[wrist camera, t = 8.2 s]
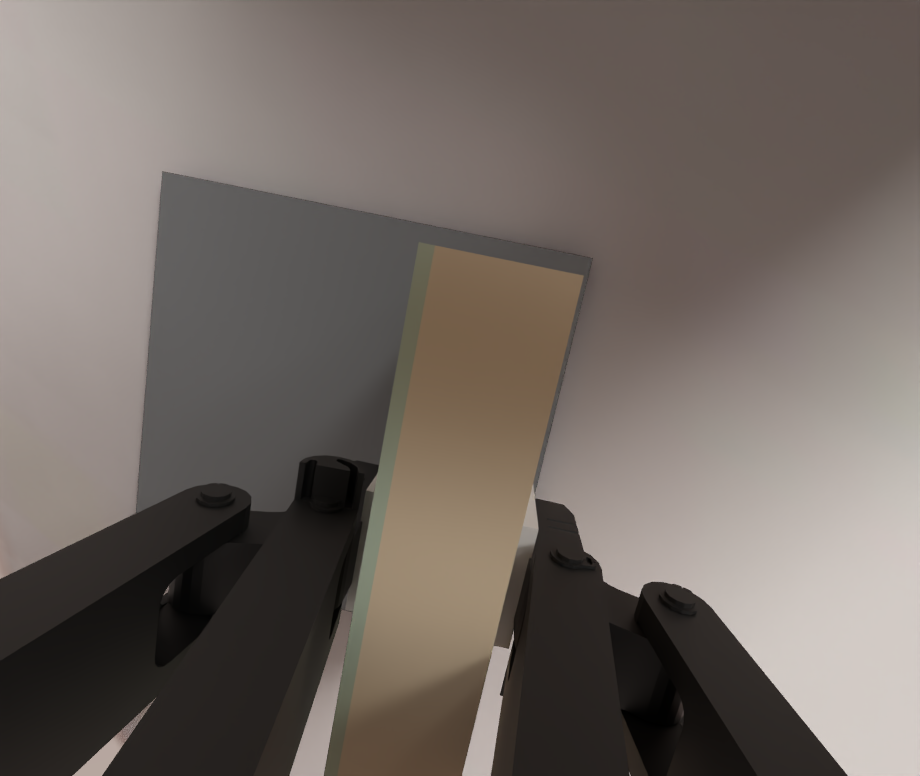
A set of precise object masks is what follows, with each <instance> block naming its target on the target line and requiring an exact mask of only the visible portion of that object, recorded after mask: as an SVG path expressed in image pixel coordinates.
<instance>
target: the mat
mask: <svg viewBox="0 0 920 776" xmlns="http://www.w3.org/2000/svg"><path fill="white" fill-rule="evenodd" d="M419 242H421V243H426V244H430V245H435V246H440V247H445V248H450V249H455V250H460V251H465V252H470V253H475V254H480V255H485V256H489V257H494V258H499V259H504V260H509V261H514V262H519V263H524V264H529V265H534V266H539V267H544V268H548V269H553V270H558V271H563V272H568V273H573V274H578V275H583V276H584V277H583V281H582V285H581V289H580V293H579V297H578V301H577V306H576V310H575V314H574V318H573V322H572V326H571V330H570V334H569V338H568V342H567V347H566V351H565V355H564V359H563V363H562V367H561V371H560V375H559V379H558V383H557V387H556V392H555V396H554V400H553V404H552V408H551V412H550V416H549V420H548V424H547V428H546V433H545V437H544V441H543V445H542V449H541V453H540V457H539V461H538V465H537V469H536V473H535V478H534V482H533V486H534V495H535V491H536V487H537V483H538V478H539V474H540V470H541V466H542V462H543V458H544V454H545V450H546V446H547V442H548V438H549V434H550V430H551V426H552V422H553V417H554V413H555V409H556V405H557V401H558V397H559V393H560V389H561V385H562V381H563V377H564V373H565V369H566V365H567V361H568V356H569V352H570V348H571V344H572V340H573V336H574V332H575V328H576V324H577V320H578V316H579V312H580V308H581V304H582V300H583V295H584V291H585V287H586V283H587V279H588V275H589V271H590V267H591V263H592V259H593V258H590V257H585V256H580V255H575V254H570V253H565V252H560V251H555V250H550V249H545V248H540V247H535V246H530V245H525V244H520V243H515V242H511V241H506V240H501V239H496V238H491V237H486V236H481V235H476V234H471V233H466V232H461V231H456V230H451V229H446V228H441V227H436V226H431V225H426V224H421V223H416V222H411V221H406V220H401V219H396V218H391V217H387V216H382V215H377V214H372V213H367V212H362V211H357V210H352V209H347V208H342V207H337V206H332V205H327V204H322V203H317V202H312V201H307V200H302V199H297V198H292V197H287V196H282V195H277V194H272V193H267V192H262V191H258V190H253V189H248V188H243V187H238V186H233V185H228V184H223V183H218V182H213V181H208V180H203V179H198V178H193V177H188V176H183V175H178V174H173V173H168V172H163V171H162V184H161V197H160V209H159V222H158V235H157V248H156V261H155V274H154V287H153V299H152V312H151V325H150V338H149V351H148V364H147V377H146V389H145V402H144V415H143V428H142V441H141V454H140V466H139V479H138V492H137V505H136V513H138V512H140V511H142V510H144V509H146V508H149V507H151V506H153V505H155V504H157V503H159V502H161V501H163V500H165V499H167V498H169V497H171V496H173V495H175V494H178V493H180V492H182V491H184V490H186V489H189V488H192V487H195V486H199V485H207V484H209V483H218V484H219V483H224V484H228V485H230V486H235V487H238V488H240V489H243V490H245V491H247V492H248V493H249V494H250V496H251V509H250V511H264V512H285V511H286V510H287V509H288V508H289V506H290V505H291V503H292V502H293V500H294V497H295V490H296V483H297V477H298V470H299V463H300V461H302V460H303V459H305V458H307V457H312V456H321V455H329V456H338V457H342V458H346V459H350V460H352V461H356V460H359V461H363V462H368V463H372V464H376V465H379V463H380V457H381V452H382V446H383V440H384V435H385V429H386V424H387V418H388V412H389V407H390V401H391V395H392V390H393V384H394V379H395V373H396V367H397V362H398V356H399V350H400V345H401V339H402V334H403V328H404V322H405V317H406V311H407V305H408V300H409V294H410V289H411V283H412V277H413V272H414V266H415V260H416V255H417V249H418V244H419ZM347 596H348V592H347V594H346V596H345V598H344V600H343V602H342V608H341V609H342V610H345V608H346V602H347ZM346 611H347V610H346ZM350 612H352V611H350ZM493 646H495V645H493Z"/></svg>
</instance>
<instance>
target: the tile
mask: <svg viewBox="0 0 920 776" xmlns="http://www.w3.org/2000/svg"><path fill="white" fill-rule="evenodd" d="M583 277H584V276H583V275H578V274H573V273H568V272H563V271H558V270H553V269H548V268H544V267H539V266H534V265H529V264H524V263H519V262H514V261H509V260H504V259H499V258H494V257H489V256H485V255H480V254H475V253H470V252H465V251H460V250H455V249H450V248H445V247H440V246H435V245H430V244H426V243H421V242H419V244H418V249H417V255H416V260H415V266H414V272H413V277H412V283H411V289H410V294H409V300H408V305H407V311H406V317H405V322H404V328H403V334H402V339H401V345H400V350H399V356H398V362H397V367H396V373H395V379H394V384H393V390H392V395H391V401H390V407H389V412H388V418H387V424H386V429H385V435H384V440H383V446H382V452H381V457H380V463H379V469H378V474H377V480H376V485H375V491H374V497H373V502H372V508H371V514H370V519H369V525H368V530H367V536H366V542H365V547H364V553H363V559H362V564H361V570H360V575H359V581H358V587H357V592H356V598H355V604H354V609H353V615H352V620H351V626H350V632H349V637H348V643H347V648H346V654H345V660H344V665H343V671H342V677H341V682H340V688H339V693H338V699H337V705H336V710H335V716H334V722H333V727H332V733H331V738H330V744H329V750H328V755H327V761H326V767H325V772H324V776H462V772H463V768H464V764H465V760H466V756H467V752H468V748H469V744H470V740H471V736H472V731H473V727H474V723H475V719H476V715H477V711H478V707H479V703H480V699H481V695H482V690H483V686H484V682H485V678H486V674H487V670H488V666H489V662H490V658H491V654H492V650H493V645H494V641H495V637H496V633H497V629H498V625H499V621H500V617H501V613H502V609H503V604H504V600H505V596H506V592H507V588H508V584H509V580H510V576H511V572H512V568H513V564H514V559H515V555H516V551H517V547H518V543H519V539H520V535H521V531H522V527H523V523H524V518H525V514H526V510H527V506H528V502H529V498H530V494H531V490H532V486H533V482H534V478H535V473H536V469H537V465H538V461H539V457H540V453H541V449H542V445H543V441H544V437H545V433H546V428H547V424H548V420H549V416H550V412H551V408H552V404H553V400H554V396H555V392H556V387H557V383H558V379H559V375H560V371H561V367H562V363H563V359H564V355H565V351H566V347H567V342H568V338H569V334H570V330H571V326H572V322H573V318H574V314H575V310H576V306H577V301H578V297H579V293H580V289H581V285H582V281H583Z"/></svg>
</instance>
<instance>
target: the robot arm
mask: <svg viewBox="0 0 920 776" xmlns="http://www.w3.org/2000/svg"><path fill="white" fill-rule="evenodd" d="M378 469H379V465H376V464H372V463H368V462H363V461H359V460H356V461H352V460H350V459H346V458H342V457H338V456H329V455H321V456H312V457H307V458H305V459H303V460H302V461H300V463H299V470H298V477H297V483H296V490H295V497H294V500H293V502H292V503H291V505H290V506H289V508H288V509H287V510H286V511H285V512H264V511H250V509H251V496H250V494H249V493H248V492H247V491H245V490H243V489H240V488H238V487H235V486H230V485H228V484H224V483H219V484H218V483H209V484H207V485H199V486H195V487H192V488H189V489H186V490H184V491H182V492H180V493H178V494H175V495H173V496H171V497H169V498H167V499H165V500H163V501H161V502H159V503H157V504H155V505H153V506H151V507H149V508H146V509H144V510H142V511H140V512H138V513H136V514H134V515H132V516H130V517H128V518H126V519H124V520H122V521H120V522H117V523H115V524H113V525H111V526H109V527H107V528H105V529H103V530H101V531H99V532H97V533H95V534H93V535H91V536H88V537H86V538H84V539H82V540H80V541H78V542H76V543H74V544H72V545H70V546H68V547H66V548H64V549H62V550H59V551H57V552H55V553H53V554H51V555H49V556H47V557H45V558H43V559H41V560H39V561H37V562H35V563H33V564H30V565H28V566H26V567H24V568H22V569H20V570H18V571H16V572H14V573H12V574H10V575H8V576H6V577H4V578H1V579H0V776H72V775H74V774H75V773H76V772H77V771H78V770H79V769H80V768H81V767H82V766H83V765H84V764H85V763H86V762H87V761H89V760H90V759H91V758H92V757H93V756H94V755H95V754H96V753H97V752H98V751H99V750H100V749H101V748H102V747H103V746H104V745H106V744H107V743H108V742H109V741H110V740H111V739H112V738H113V737H114V736H115V735H116V734H117V733H118V732H120V731H121V730H122V729H123V728H124V727H125V726H126V725H127V724H128V723H129V722H130V721H131V720H132V719H133V718H135V717H136V716H137V715H138V714H139V713H140V712H141V711H142V710H143V709H144V708H145V707H146V706H147V705H148V704H150V703H151V702H152V701H153V700H154V699H155V698H156V699H155V700H154V702H153V703H152V705H151V706H150V707H149V709H148V710H147V712H146V713H145V715H144V716H143V718H142V719H141V720H140V722H139V723H138V725H137V726H136V728H135V729H134V730H133V732H132V733H131V735H130V736H129V738H128V739H127V741H126V742H125V743H124V745H123V746H122V748H121V749H120V751H119V752H118V753H117V755H116V756H115V758H114V759H113V761H112V762H111V764H110V765H109V767H108V768H107V770H106V771H105V772H104V774H103V775H102V776H289V775H290V772H291V768H292V765H293V762H294V759H295V756H296V753H297V750H298V747H299V744H300V741H301V738H302V735H303V732H304V728H305V725H306V722H307V719H308V716H309V713H310V710H311V707H312V704H313V701H314V698H315V695H316V692H317V688H318V685H319V682H320V679H321V676H322V673H323V670H324V667H325V664H326V661H327V658H328V655H329V652H330V649H331V645H332V642H333V639H334V636H335V633H336V630H337V627H338V624H339V619H340V614H341V608H342V602H343V600H344V598H345V596H346V594H347V592H348V596H347V602H346V608H345V610H347V611H352V612H353V609H354V604H355V598H356V592H357V587H358V581H359V575H360V570H361V564H362V559H363V553H364V547H365V542H366V536H367V530H368V525H369V519H370V514H371V508H372V502H373V497H374V491H375V485H376V480H377V474H378ZM578 533H579V532H578V528H577V526H576V521H575V518H574V515H573V514H572V513H571V512H570V511H569V510H568V509H567V508H566V507H565V506H564V505H562V504H558V503H553V502H549V501H544V500H540V499H535V495H534V486H532V490H531V494H530V498H529V502H528V506H527V510H526V514H525V518H524V523H523V527H522V531H521V535H520V539H519V543H518V547H517V551H516V555H515V559H514V564H513V568H512V572H511V576H510V580H509V584H508V588H507V592H506V596H505V600H504V604H503V609H502V613H501V617H500V621H499V625H498V629H497V633H496V637H495V641H494V645H495V646H499V647H503V648H508V649H509V646H510V642H511V638H512V634H513V630H514V641H513V645H512V649H511V653H510V657H509V661H508V665H507V669H506V673H505V677H504V681H503V685H502V689H501V693H500V695H501V696H503V700H502V706H501V713H500V719H499V726H498V733H497V739H496V746H495V752H494V759H493V766H492V772H491V776H630V775H631V776H847V774H846V773H845V772H844V771H843V769H842V768H841V767H840V766H839V764H838V763H837V762H836V761H835V760H834V758H833V757H832V756H831V755H830V753H829V752H828V751H827V750H826V748H825V747H824V746H823V745H822V744H821V742H820V741H819V740H818V739H817V737H816V736H815V735H814V734H813V732H812V731H811V730H810V729H809V727H808V726H807V725H806V724H805V723H804V721H803V720H802V719H801V718H800V716H799V715H798V714H797V713H796V711H795V710H794V709H793V708H792V707H791V705H790V704H789V703H788V702H787V700H786V699H785V698H784V697H783V695H782V694H781V693H780V692H779V691H778V689H777V688H776V687H775V686H774V684H773V683H772V682H771V681H770V679H769V678H768V677H767V676H766V675H765V673H764V672H763V671H762V670H761V668H760V667H759V666H758V665H757V663H756V662H755V661H754V660H753V659H752V657H751V656H750V655H749V654H748V652H747V651H746V650H745V649H744V647H743V646H742V645H741V644H740V643H739V641H738V640H737V639H736V638H735V636H734V635H733V634H732V633H731V631H730V630H729V629H728V628H727V626H726V625H725V624H724V623H723V622H722V620H721V619H720V618H719V617H718V615H717V614H716V613H715V612H714V610H713V609H712V608H711V607H710V606H709V605H708V604H707V603H706V602H705V601H704V600H702V599H701V598H699V597H698V596H696V595H695V594H693V593H692V592H691V591H690V590H688V589H686V588H684V587H683V588H681V586H679V585H676V584H668V583H664V582H650V583H647V584H644V586H643V588H642V590H641V594H640V597H639V598H638V597H635V596H633V595H630V594H628V593H625V592H623V591H621V590H618V589H616V588H614V587H612V586H610V585H608V584H607V583H605V582H604V581H603V576H602V569H601V567H600V565H599V563H598V562H597V561H596V560H595V559H594V558H593V557H592V556H591V555H589V554H587V553H586V552H584V550H583V546H582V543H581V539H580V536H579V534H578ZM168 586H169V591H168V593H166V594H165V595H163V594H164V593H165V591H166V589H167V587H168ZM629 772H630V775H629Z"/></svg>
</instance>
